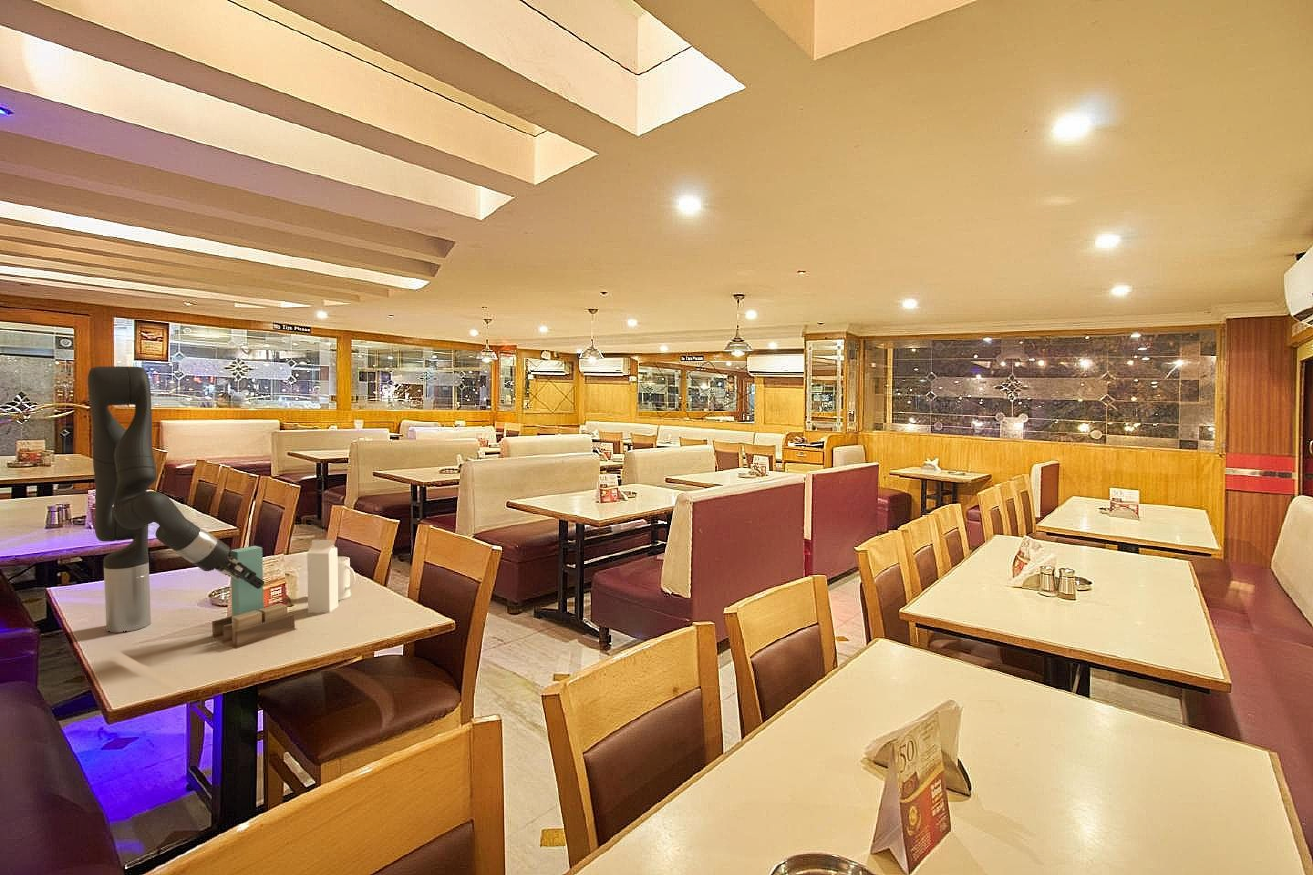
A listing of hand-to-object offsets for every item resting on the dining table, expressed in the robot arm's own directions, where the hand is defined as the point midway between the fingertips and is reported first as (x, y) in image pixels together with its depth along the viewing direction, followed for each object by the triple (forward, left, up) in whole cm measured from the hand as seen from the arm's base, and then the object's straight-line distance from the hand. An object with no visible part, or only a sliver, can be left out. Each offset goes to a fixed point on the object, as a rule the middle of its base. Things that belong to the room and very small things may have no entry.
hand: (253, 583), depth 163 cm
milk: (-7, +17, -14) cm, 23 cm away
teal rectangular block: (+1, -1, -12) cm, 13 cm away
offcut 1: (+7, -2, -12) cm, 15 cm away
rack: (+4, 0, -14) cm, 14 cm away
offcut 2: (+5, +4, -12) cm, 14 cm away
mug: (-20, +23, -14) cm, 34 cm away
